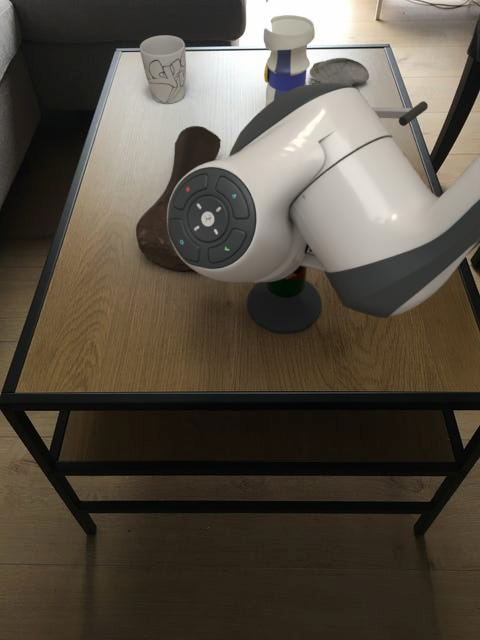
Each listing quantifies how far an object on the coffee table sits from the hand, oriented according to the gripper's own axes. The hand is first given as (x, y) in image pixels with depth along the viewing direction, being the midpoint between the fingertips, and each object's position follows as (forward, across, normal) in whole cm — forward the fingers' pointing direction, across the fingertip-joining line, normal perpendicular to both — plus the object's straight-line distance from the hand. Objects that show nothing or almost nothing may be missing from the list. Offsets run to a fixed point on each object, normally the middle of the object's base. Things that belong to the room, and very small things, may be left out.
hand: (289, 245), depth 65 cm
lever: (+14, -3, -20) cm, 24 cm away
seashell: (+50, +9, -35) cm, 61 cm away
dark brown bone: (+16, +20, -1) cm, 26 cm away
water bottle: (+34, +13, -19) cm, 41 cm away
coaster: (+7, 0, +8) cm, 10 cm away
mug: (+40, +40, -24) cm, 61 cm away
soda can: (+4, 0, +5) cm, 7 cm away
